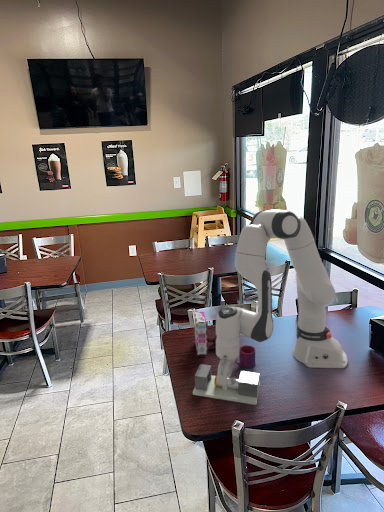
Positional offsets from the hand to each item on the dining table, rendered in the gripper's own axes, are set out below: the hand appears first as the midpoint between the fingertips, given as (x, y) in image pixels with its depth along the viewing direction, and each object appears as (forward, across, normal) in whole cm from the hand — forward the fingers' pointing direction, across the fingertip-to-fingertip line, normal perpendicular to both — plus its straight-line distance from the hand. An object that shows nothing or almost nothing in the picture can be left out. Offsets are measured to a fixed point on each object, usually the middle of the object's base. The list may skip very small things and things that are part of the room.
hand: (227, 381), depth 137 cm
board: (+4, 0, 0) cm, 4 cm away
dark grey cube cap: (+3, 0, -8) cm, 9 cm away
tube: (+3, 0, -3) cm, 4 cm away
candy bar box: (+4, +26, +18) cm, 31 cm away
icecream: (+4, +30, +9) cm, 32 cm away
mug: (+4, +18, -4) cm, 19 cm away
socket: (+3, 0, +9) cm, 10 cm away
